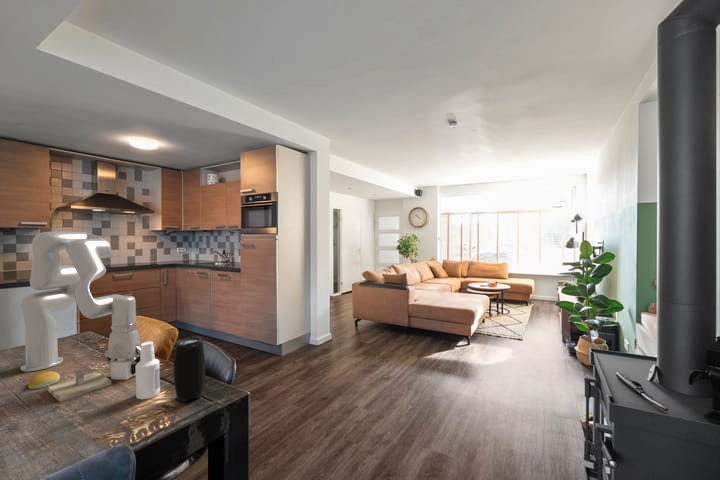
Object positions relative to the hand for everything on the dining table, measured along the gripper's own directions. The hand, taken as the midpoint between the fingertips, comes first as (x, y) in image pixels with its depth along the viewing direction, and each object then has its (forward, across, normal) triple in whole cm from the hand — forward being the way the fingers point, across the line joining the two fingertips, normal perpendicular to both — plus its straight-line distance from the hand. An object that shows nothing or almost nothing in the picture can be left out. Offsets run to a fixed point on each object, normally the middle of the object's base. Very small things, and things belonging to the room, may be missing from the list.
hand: (125, 372), depth 122 cm
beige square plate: (+1, -9, -10) cm, 13 cm away
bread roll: (+2, -26, -7) cm, 27 cm away
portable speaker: (+2, +35, -15) cm, 38 cm away
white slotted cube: (+1, 0, 0) cm, 1 cm away
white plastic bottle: (+2, +20, -14) cm, 24 cm away
